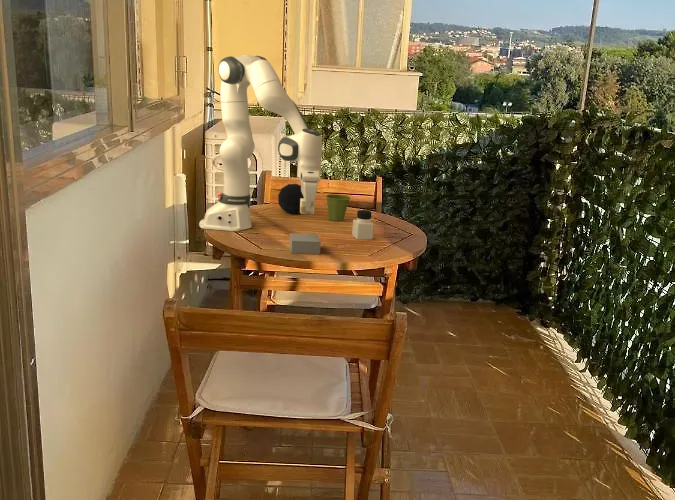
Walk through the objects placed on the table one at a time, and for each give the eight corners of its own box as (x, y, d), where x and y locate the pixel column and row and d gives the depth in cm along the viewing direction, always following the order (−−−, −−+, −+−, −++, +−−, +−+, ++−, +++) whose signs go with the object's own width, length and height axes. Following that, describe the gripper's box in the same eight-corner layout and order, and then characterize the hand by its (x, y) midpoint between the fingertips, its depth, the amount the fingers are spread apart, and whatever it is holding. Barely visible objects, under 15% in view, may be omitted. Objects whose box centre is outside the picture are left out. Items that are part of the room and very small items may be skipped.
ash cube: (301, 213, 242) (301, 201, 240) (299, 210, 247) (300, 198, 245) (314, 214, 243) (314, 201, 241) (312, 211, 247) (313, 198, 246)
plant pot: (344, 224, 293) (346, 200, 290) (320, 220, 297) (322, 196, 294) (352, 219, 304) (354, 196, 301) (328, 215, 307) (330, 192, 304)
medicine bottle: (372, 239, 271) (375, 212, 267) (356, 239, 269) (359, 212, 265) (367, 235, 277) (369, 208, 274) (351, 235, 275) (354, 208, 272)
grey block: (291, 253, 243) (292, 240, 241) (289, 245, 253) (289, 233, 252) (319, 254, 245) (320, 241, 243) (316, 246, 255) (317, 234, 254)
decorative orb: (287, 196, 318) (281, 175, 306) (315, 200, 313) (309, 179, 301) (277, 217, 310) (270, 196, 298) (305, 222, 305) (299, 201, 294)
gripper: (298, 168, 250) (296, 202, 254) (303, 177, 230) (301, 214, 234) (314, 168, 251) (312, 202, 255) (320, 178, 231) (318, 214, 235)
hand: (307, 208), depth 244 cm, fingers closed on ash cube, 5 cm apart
